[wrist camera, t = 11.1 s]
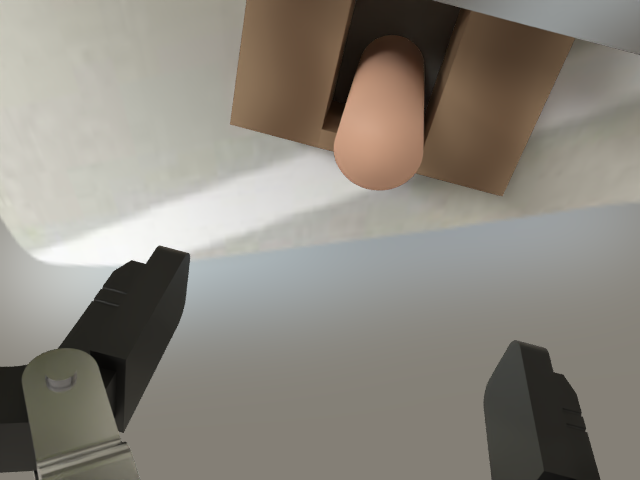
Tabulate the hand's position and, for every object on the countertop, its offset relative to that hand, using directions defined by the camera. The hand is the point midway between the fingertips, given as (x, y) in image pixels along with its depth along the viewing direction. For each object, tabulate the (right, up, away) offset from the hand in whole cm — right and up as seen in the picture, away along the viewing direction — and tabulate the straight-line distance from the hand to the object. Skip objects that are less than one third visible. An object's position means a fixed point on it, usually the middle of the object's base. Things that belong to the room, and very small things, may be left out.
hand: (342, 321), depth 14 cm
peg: (+3, +11, +16) cm, 20 cm away
